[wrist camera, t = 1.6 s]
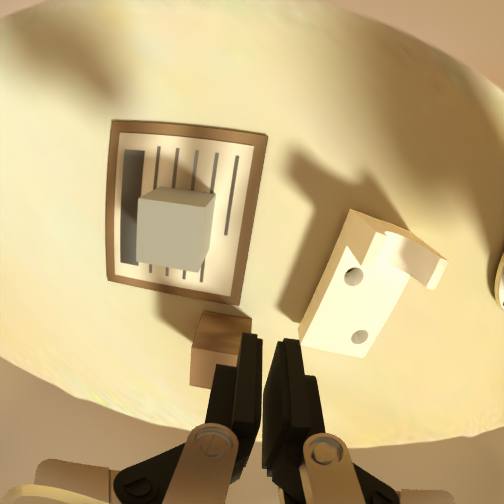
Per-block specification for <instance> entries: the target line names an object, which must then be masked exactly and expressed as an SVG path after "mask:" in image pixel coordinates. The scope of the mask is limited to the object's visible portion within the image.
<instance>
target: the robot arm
mask: <svg viewBox="0 0 504 504" xmlns="http://www.w3.org/2000/svg"><path fill="white" fill-rule="evenodd" d="M495 298H496V302H497V304H498V306H499V307H500V308H501V309H502V310H503V311H504V253H503V255H502V258H501V260H500V263H499V266H498V270H497V273H496V279H495ZM262 346H263V340H262V339H259V338H257V334H251V333H245V332H242V337H241V342H240V347H239V353H238V358H237V363H236V367H235V366H228V365H222V364H216V367H215V373H214V378H213V383H212V388H211V393H210V398H209V404H208V409H207V414H206V419H205V424H202V425H199V426H197V427H195V428H194V429H193V430H192V431H191V432H190V434H189V436H188V438H187V441H186V443H183V444H182V445H179V446H177V447H175V448H173V449H170V450H169V451H166V452H164V453H162V454H160V455H157V456H155V457H153V458H150V459H148V460H145V461H143V462H141V463H138V464H136V465H133V466H131V467H128V468H126V469H124V470H122V471H116V470H110V469H109V468H108V467H99V466H91V465H85V464H79V463H73V462H67V461H62V460H57V459H47V460H44V461H42V462H41V463H40V464H39V465H38V467H37V470H36V474H35V482H34V485H19V486H16V487H14V488H12V489H10V490H9V491H8V492H7V493H6V494H5V495H4V496H3V497H2V498H1V500H0V504H225V500H226V496H227V492H228V488H229V485H230V484H232V483H233V482H235V481H236V480H238V479H239V478H240V476H241V473H242V470H243V468H244V467H246V464H247V461H248V458H249V456H250V453H251V450H252V447H253V445H254V442H255V439H256V436H257V433H258V430H259V427H260V422H261V405H262ZM262 468H263V469H267V476H268V477H272V481H273V482H274V483H275V484H276V485H277V486H278V493H279V500H280V504H455V502H454V498H453V497H452V495H451V494H450V493H449V492H447V491H444V490H409V489H400V490H399V491H395V490H394V489H392V488H391V487H390V486H388V485H386V484H385V483H383V482H382V481H380V480H378V479H377V478H375V477H374V476H372V475H371V474H369V473H368V472H366V471H364V470H363V469H361V468H360V467H358V466H357V465H355V464H354V463H353V462H352V460H351V457H350V454H349V451H348V448H347V446H346V445H345V443H344V442H343V441H342V440H341V439H340V438H338V437H337V436H335V435H332V434H329V433H326V432H325V426H324V420H323V414H322V408H321V402H320V396H319V391H318V385H317V380H316V377H315V376H310V375H305V373H304V366H303V359H302V353H301V346H300V341H299V340H296V339H288V338H284V340H283V342H281V341H278V343H277V346H276V350H275V353H274V357H273V360H272V364H271V367H270V371H269V374H268V378H267V381H266V385H265V388H264V393H263V431H262Z"/></svg>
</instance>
